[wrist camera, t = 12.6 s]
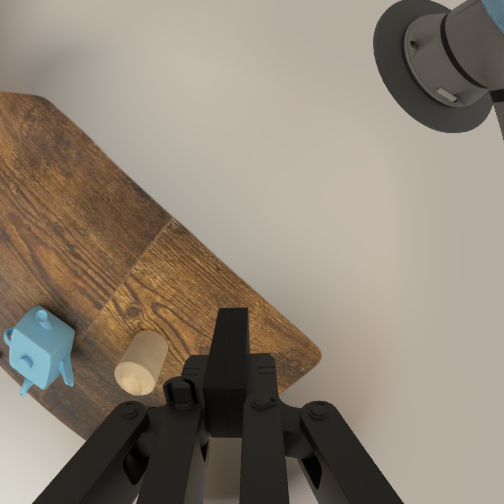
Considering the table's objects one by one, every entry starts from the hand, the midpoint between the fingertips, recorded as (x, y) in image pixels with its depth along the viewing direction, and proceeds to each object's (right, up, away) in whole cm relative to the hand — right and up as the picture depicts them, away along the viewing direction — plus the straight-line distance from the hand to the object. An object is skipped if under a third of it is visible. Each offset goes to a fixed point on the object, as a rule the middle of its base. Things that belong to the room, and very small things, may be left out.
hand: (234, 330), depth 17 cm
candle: (-14, -10, +28) cm, 33 cm away
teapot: (-31, -10, +28) cm, 43 cm away
